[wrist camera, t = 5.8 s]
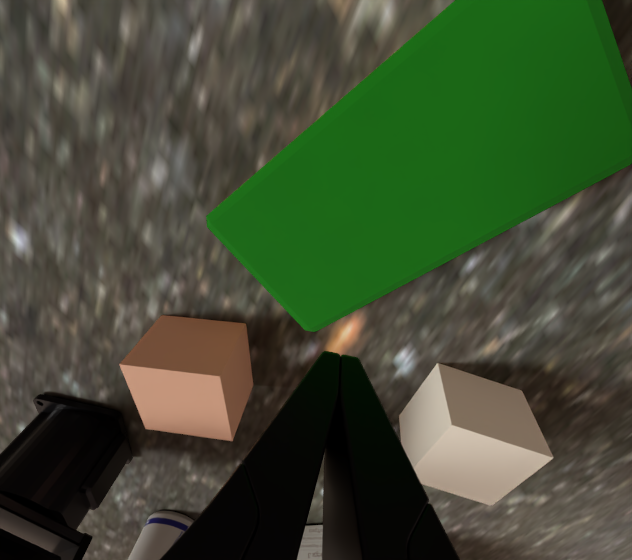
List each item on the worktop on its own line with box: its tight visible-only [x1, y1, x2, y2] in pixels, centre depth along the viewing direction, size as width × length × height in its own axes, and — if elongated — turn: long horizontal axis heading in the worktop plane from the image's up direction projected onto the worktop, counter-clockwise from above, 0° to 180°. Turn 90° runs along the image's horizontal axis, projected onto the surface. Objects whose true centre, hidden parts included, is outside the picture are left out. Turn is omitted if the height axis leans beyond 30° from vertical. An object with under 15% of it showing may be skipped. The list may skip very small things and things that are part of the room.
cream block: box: [399, 363, 554, 506], centre depth 18 cm, size 5×5×4 cm
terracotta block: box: [119, 315, 253, 441], centre depth 19 cm, size 5×5×4 cm
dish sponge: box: [206, 0, 632, 332], centre depth 13 cm, size 7×14×2 cm, turn 129°
